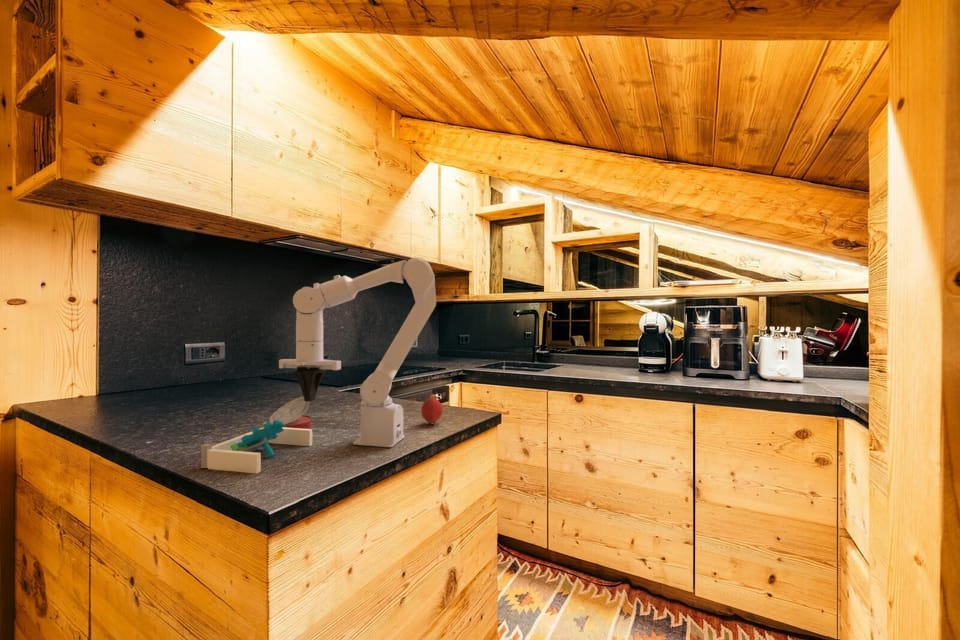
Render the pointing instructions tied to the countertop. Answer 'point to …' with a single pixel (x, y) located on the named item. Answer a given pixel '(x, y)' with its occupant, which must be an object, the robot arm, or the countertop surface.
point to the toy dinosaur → (259, 438)
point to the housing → (248, 461)
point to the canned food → (293, 414)
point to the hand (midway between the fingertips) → (309, 400)
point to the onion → (432, 409)
